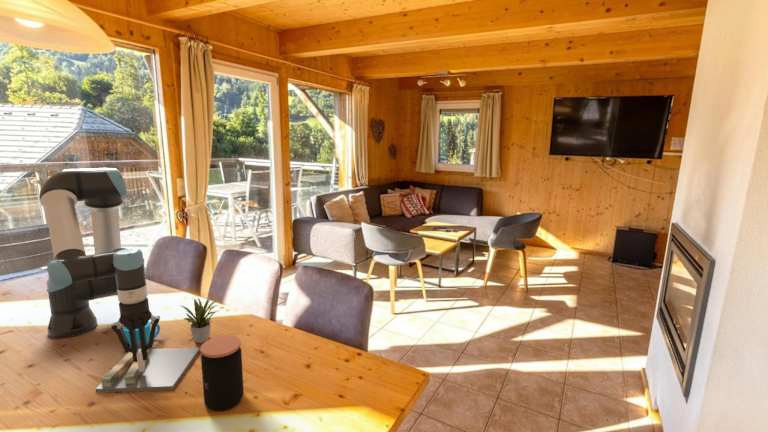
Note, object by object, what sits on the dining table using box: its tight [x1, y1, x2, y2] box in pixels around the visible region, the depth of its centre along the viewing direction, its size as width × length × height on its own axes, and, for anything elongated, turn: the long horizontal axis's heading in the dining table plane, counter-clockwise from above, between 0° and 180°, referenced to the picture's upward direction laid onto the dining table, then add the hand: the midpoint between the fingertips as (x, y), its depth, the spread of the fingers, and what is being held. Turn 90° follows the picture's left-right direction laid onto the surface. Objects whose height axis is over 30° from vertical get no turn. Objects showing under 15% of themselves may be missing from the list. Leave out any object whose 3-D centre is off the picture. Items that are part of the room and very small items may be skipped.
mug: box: [122, 320, 161, 346], centre depth 141 cm, size 12×8×8 cm
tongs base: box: [100, 341, 150, 387], centre depth 125 cm, size 20×5×4 cm, turn 5°
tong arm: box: [124, 350, 149, 384], centre depth 124 cm, size 15×2×2 cm, turn 16°
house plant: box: [180, 296, 220, 344], centre depth 144 cm, size 14×14×16 cm
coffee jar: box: [199, 335, 244, 412], centre depth 111 cm, size 11×11×18 cm
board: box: [95, 347, 201, 393], centre depth 126 cm, size 22×22×1 cm
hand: (142, 369), depth 122 cm, fingers closed
